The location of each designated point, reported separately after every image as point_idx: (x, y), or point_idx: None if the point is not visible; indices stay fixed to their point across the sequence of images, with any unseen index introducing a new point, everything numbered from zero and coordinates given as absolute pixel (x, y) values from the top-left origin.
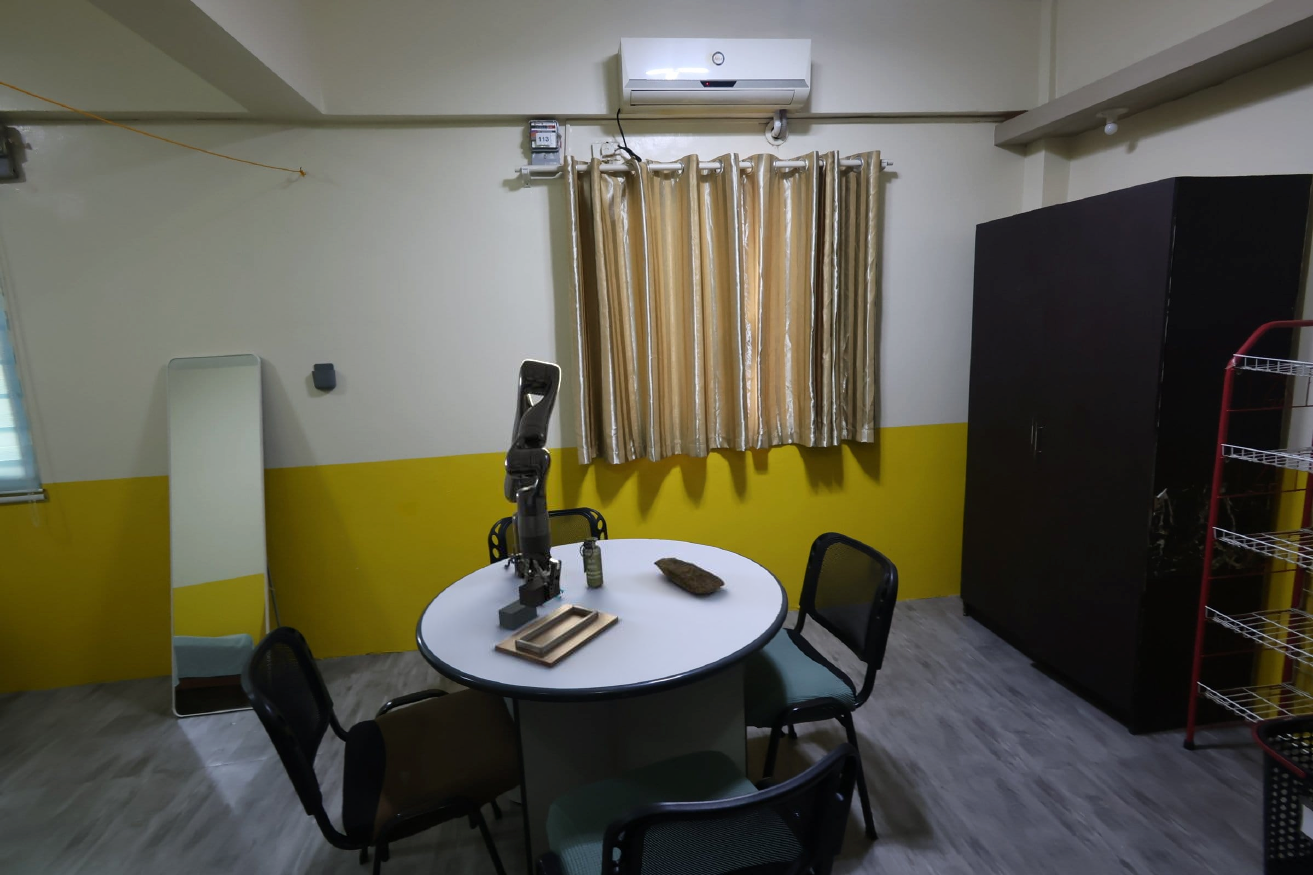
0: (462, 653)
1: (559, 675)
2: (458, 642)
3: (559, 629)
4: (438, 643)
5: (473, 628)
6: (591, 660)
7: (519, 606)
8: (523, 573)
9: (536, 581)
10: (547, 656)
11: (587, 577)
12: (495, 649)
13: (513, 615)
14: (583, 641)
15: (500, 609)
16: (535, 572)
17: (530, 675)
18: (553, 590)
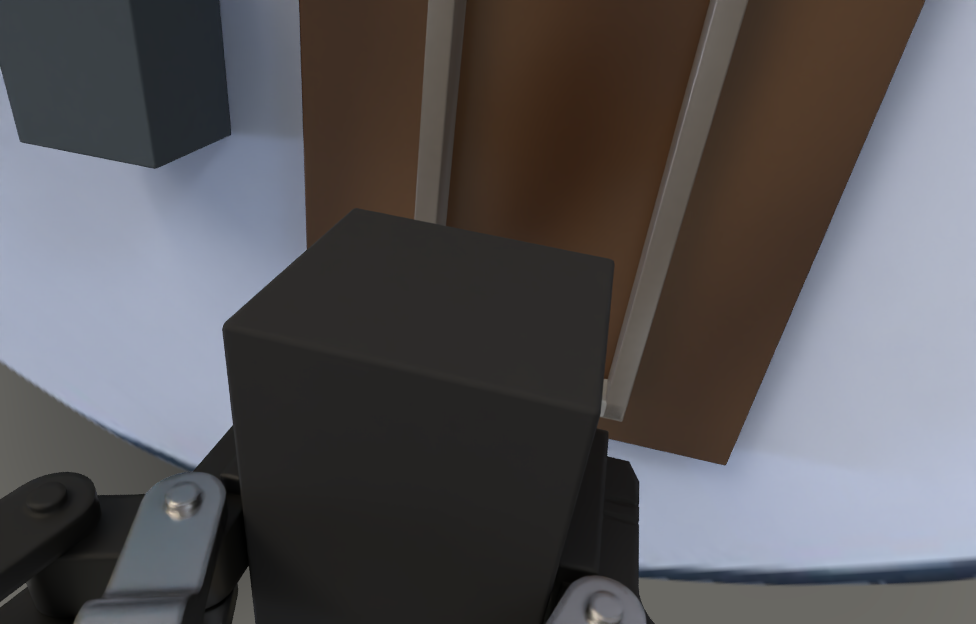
0: (211, 407)
1: (802, 491)
2: (102, 330)
3: (563, 87)
4: (38, 357)
5: (18, 184)
6: (958, 342)
7: (91, 23)
8: (64, 602)
9: (348, 585)
10: (671, 414)
11: None
12: None
13: (167, 149)
14: (840, 190)
15: (22, 126)
16: (200, 589)
17: (647, 507)
18: (638, 536)
